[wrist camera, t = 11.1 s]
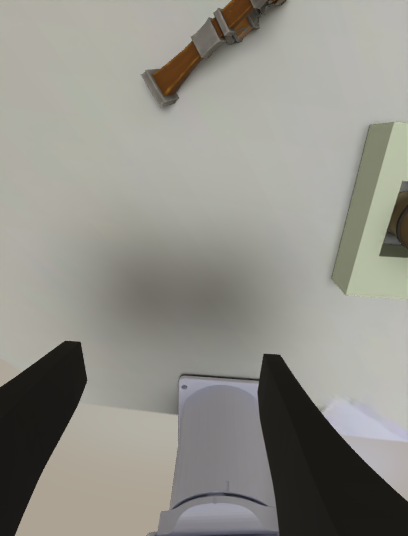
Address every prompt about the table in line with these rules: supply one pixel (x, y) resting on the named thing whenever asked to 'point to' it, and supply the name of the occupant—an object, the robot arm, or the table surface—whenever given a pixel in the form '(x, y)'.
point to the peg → (400, 219)
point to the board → (375, 219)
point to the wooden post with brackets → (206, 46)
